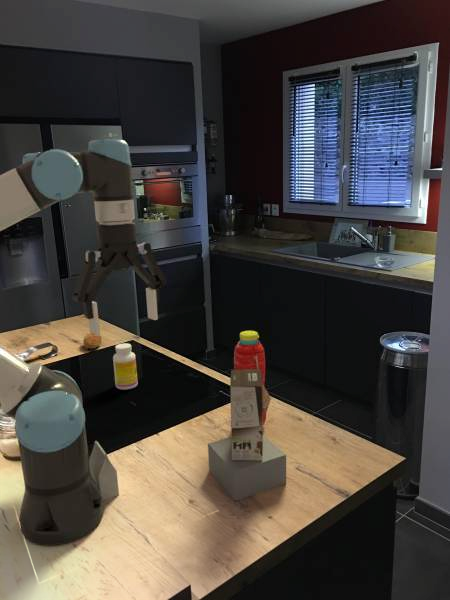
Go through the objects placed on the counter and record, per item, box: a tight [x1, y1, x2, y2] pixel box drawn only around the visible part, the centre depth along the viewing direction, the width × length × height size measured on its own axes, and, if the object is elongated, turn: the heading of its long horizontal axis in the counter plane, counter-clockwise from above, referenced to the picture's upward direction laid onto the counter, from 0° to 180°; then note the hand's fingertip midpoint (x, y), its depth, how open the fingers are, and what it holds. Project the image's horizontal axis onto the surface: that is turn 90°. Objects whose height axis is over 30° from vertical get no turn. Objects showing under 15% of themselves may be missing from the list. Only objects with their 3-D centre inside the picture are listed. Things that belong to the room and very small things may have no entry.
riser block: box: [207, 434, 287, 502], centre depth 110 cm, size 12×12×7 cm
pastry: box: [82, 332, 103, 349], centre depth 194 cm, size 9×7×4 cm
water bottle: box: [233, 330, 272, 426], centre depth 128 cm, size 12×8×25 cm, turn 19°
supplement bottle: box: [112, 342, 139, 391], centre depth 157 cm, size 7×7×13 cm
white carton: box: [89, 440, 120, 502], centre depth 107 cm, size 4×7×10 cm, turn 31°
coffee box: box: [229, 369, 264, 461], centre depth 107 cm, size 9×6×16 cm
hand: (125, 325), depth 108 cm, fingers open, 13 cm apart
